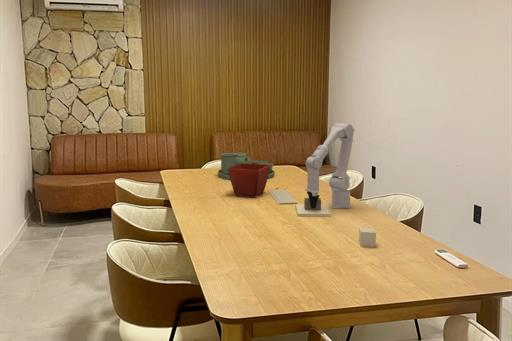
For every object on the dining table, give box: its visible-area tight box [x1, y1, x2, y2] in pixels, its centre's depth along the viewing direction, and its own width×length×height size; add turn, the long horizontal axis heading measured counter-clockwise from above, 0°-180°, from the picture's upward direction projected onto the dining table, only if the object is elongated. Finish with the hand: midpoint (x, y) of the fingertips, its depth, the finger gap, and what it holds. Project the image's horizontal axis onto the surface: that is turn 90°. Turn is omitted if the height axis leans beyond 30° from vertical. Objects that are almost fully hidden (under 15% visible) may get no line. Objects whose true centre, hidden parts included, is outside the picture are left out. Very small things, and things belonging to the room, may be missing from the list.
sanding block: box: [303, 197, 322, 210], centre depth 248 cm, size 8×5×5 cm, turn 89°
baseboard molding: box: [268, 187, 298, 206], centre depth 279 cm, size 31×3×12 cm
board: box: [294, 204, 332, 218], centre depth 249 cm, size 16×18×2 cm
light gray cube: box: [358, 227, 377, 248], centre depth 199 cm, size 6×6×6 cm
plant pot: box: [228, 163, 270, 198], centre depth 285 cm, size 19×19×17 cm
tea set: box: [217, 151, 276, 181], centre depth 344 cm, size 40×40×16 cm
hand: (312, 206), depth 249 cm, fingers closed on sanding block, 5 cm apart
